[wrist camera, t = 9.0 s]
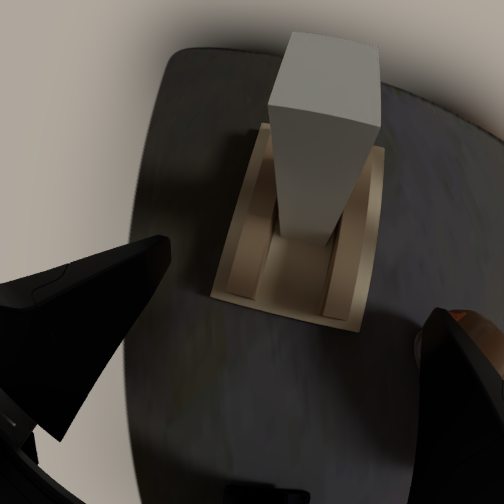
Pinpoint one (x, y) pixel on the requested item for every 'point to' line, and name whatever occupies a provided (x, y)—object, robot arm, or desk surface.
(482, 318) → the tin
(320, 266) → the rack
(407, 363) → the desk surface
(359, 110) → the clay bar
